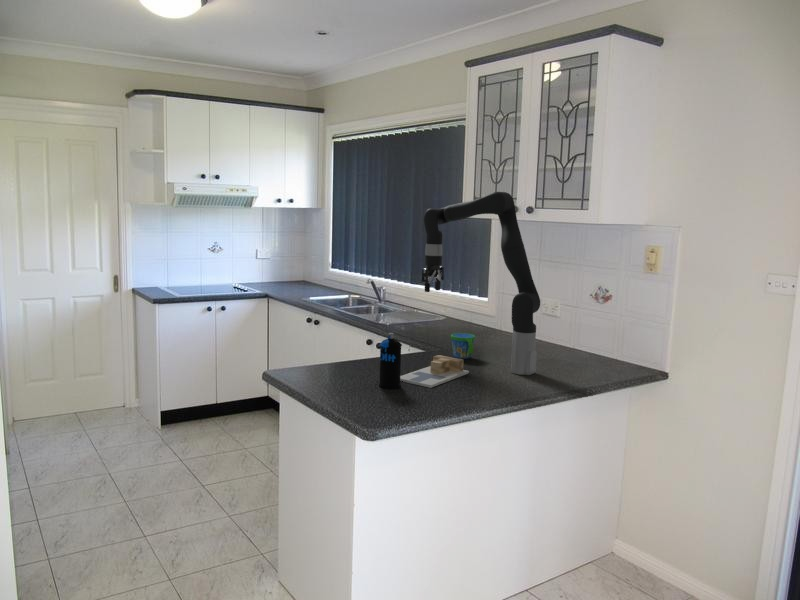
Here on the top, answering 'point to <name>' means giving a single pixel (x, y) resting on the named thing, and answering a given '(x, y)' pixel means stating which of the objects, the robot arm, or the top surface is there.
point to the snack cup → (462, 345)
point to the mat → (430, 377)
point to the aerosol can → (390, 362)
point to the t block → (446, 364)
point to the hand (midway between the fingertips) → (432, 291)
